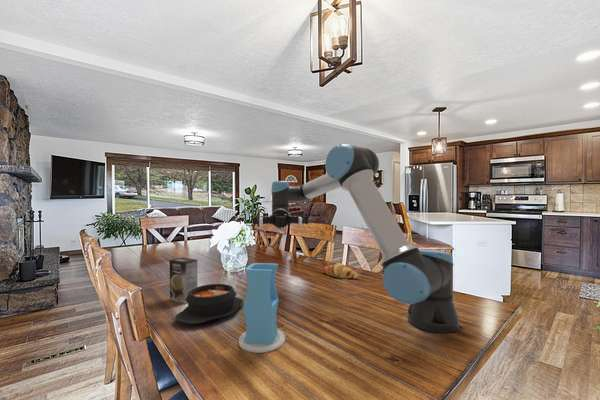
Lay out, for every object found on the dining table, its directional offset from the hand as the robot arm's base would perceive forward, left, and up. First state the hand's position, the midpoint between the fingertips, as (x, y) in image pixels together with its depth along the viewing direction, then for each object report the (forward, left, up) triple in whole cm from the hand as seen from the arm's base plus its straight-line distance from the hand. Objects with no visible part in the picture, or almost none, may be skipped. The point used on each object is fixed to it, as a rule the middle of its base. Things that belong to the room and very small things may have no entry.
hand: (280, 222), depth 96 cm
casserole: (+17, +18, -32) cm, 41 cm away
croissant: (+26, -50, -32) cm, 65 cm away
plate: (-10, +12, -32) cm, 36 cm away
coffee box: (+37, +23, -32) cm, 54 cm away
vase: (-10, +12, -31) cm, 35 cm away
